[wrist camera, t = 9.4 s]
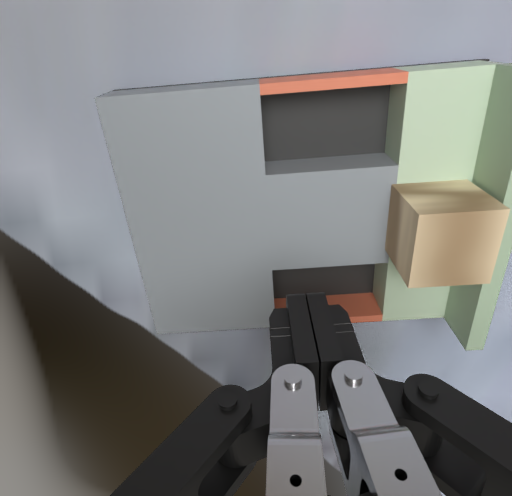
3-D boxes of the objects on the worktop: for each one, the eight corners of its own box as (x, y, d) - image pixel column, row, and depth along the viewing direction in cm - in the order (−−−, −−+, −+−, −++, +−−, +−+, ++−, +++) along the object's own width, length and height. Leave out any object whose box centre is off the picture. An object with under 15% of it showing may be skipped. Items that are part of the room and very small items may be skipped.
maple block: (384, 249, 23) (408, 288, 19) (391, 184, 21) (419, 214, 17) (453, 244, 22) (490, 283, 19) (467, 179, 20) (510, 208, 17)
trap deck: (166, 306, 28) (145, 368, 23) (114, 89, 21) (67, 108, 16) (440, 289, 28) (483, 349, 22) (484, 58, 20) (563, 67, 15)
